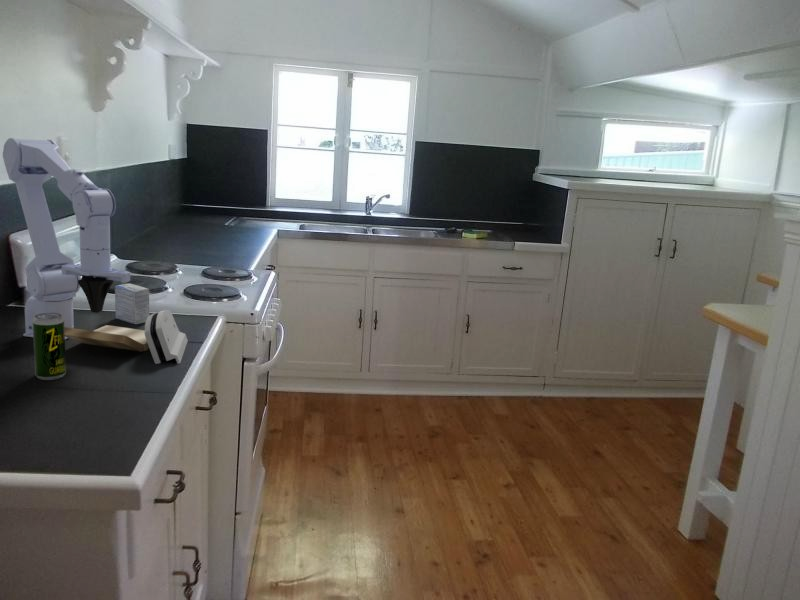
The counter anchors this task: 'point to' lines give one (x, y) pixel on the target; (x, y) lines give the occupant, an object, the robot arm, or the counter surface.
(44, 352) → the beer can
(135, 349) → the plank
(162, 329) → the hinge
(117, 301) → the grey wood grain block
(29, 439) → the counter surface
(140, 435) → the counter surface
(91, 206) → the robot arm
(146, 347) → the floor board
